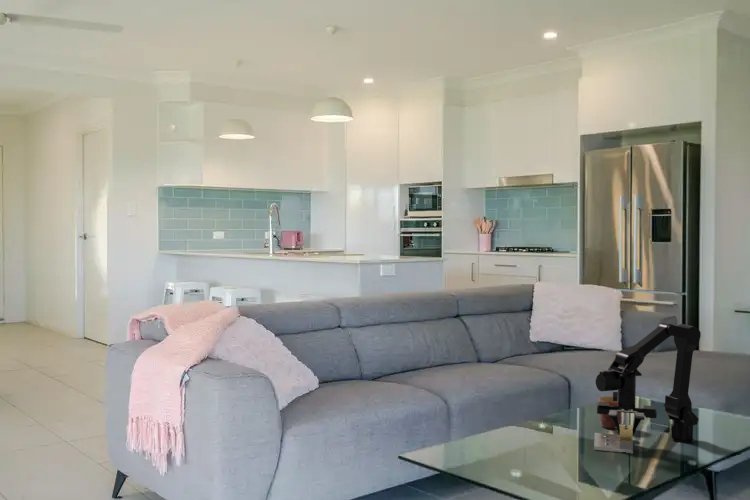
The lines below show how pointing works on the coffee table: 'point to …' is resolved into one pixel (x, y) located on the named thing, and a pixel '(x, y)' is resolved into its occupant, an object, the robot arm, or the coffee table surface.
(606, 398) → the mug
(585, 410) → the coffee table surface
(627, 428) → the block
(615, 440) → the steel hinge plate
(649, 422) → the coffee table surface
